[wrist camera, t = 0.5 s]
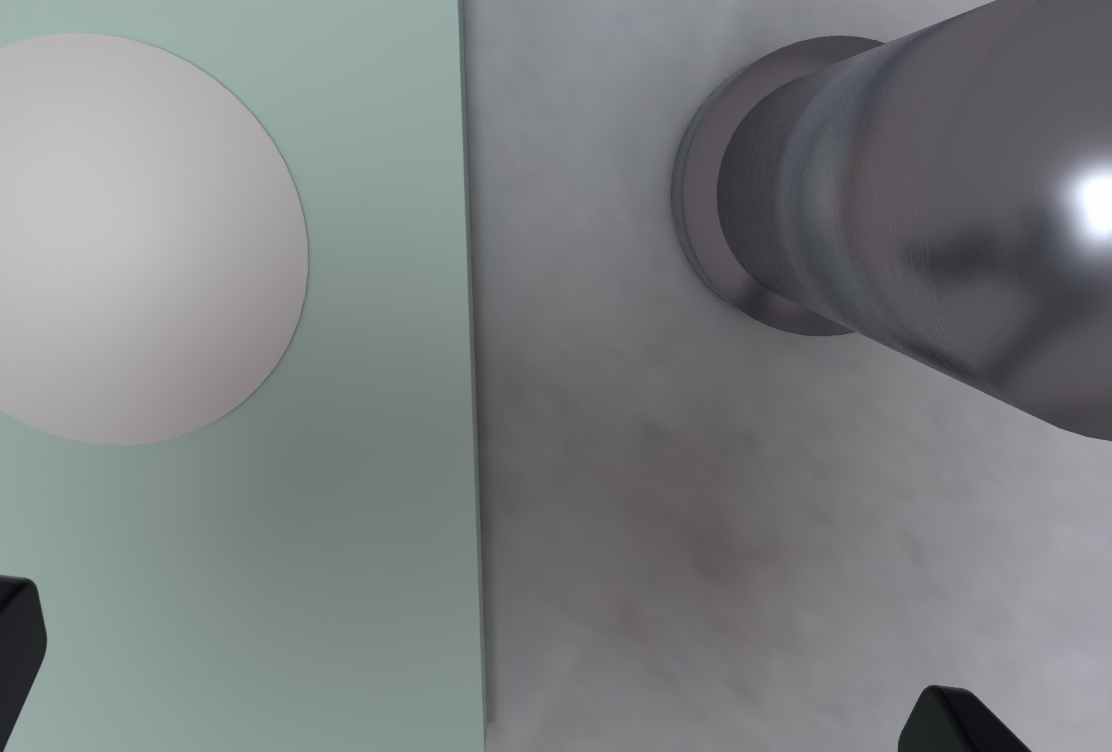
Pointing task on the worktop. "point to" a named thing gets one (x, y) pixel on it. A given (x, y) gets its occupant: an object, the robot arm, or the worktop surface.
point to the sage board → (241, 374)
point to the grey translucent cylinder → (925, 199)
